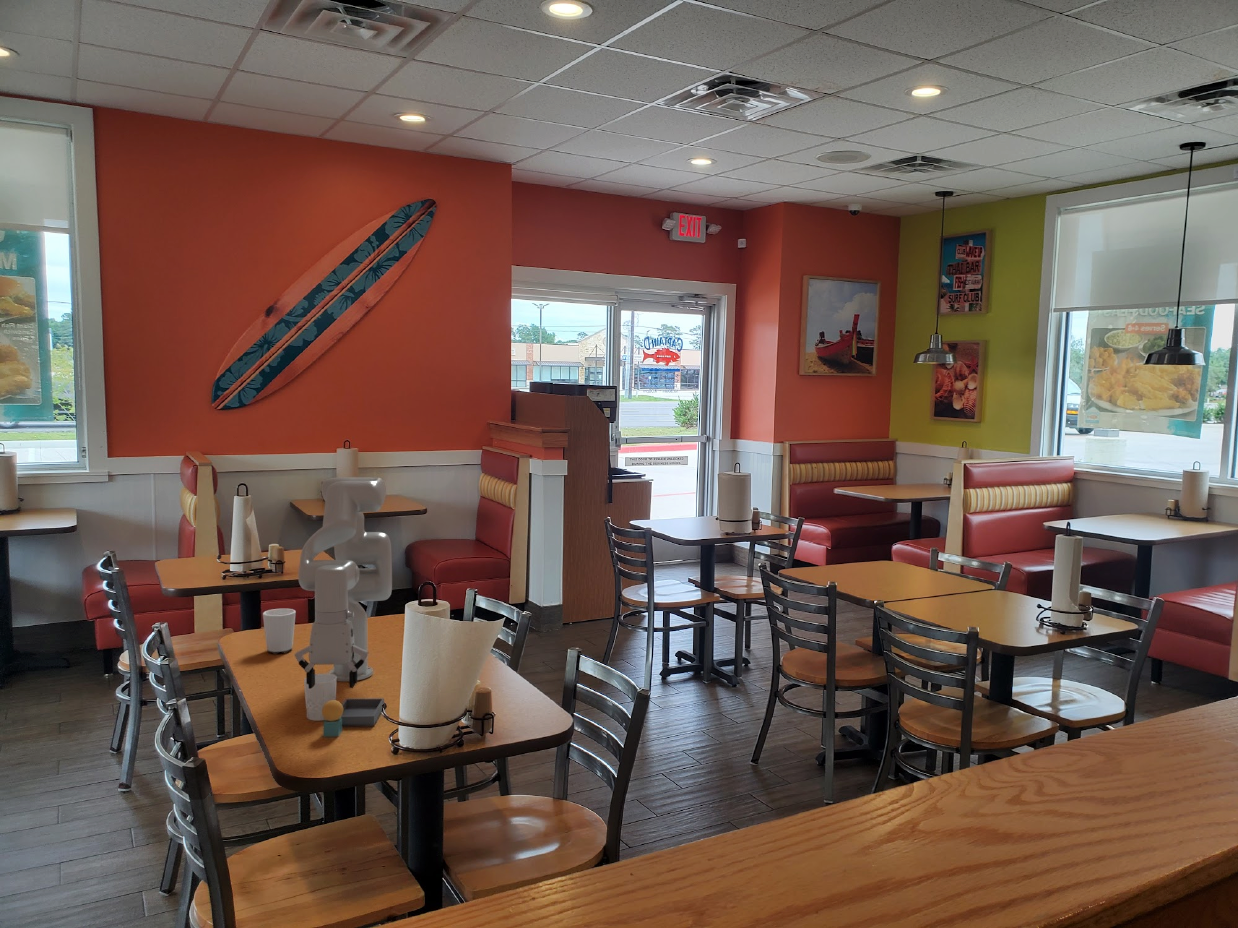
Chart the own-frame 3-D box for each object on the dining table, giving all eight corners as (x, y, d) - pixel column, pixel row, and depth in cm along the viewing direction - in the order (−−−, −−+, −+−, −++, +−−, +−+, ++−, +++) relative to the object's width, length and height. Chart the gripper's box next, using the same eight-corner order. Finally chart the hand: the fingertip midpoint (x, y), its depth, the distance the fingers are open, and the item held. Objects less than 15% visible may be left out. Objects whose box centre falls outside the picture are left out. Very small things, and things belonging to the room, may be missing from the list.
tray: (345, 708, 232) (345, 698, 232) (384, 707, 233) (384, 698, 233) (333, 726, 219) (333, 716, 219) (374, 726, 220) (374, 716, 220)
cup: (284, 644, 289) (284, 606, 288) (302, 650, 283) (302, 611, 282) (256, 651, 281) (256, 612, 280) (274, 657, 275) (274, 617, 274)
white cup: (326, 723, 222) (326, 684, 221) (298, 720, 223) (297, 681, 222) (342, 712, 229) (342, 674, 228) (315, 709, 231) (314, 672, 230)
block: (327, 730, 216) (327, 716, 216) (342, 730, 217) (342, 716, 216) (323, 736, 213) (323, 722, 212) (338, 736, 213) (338, 721, 213)
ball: (324, 716, 217) (324, 697, 216) (345, 716, 217) (345, 696, 217) (319, 724, 212) (319, 704, 211) (340, 724, 212) (340, 704, 212)
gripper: (371, 613, 217) (371, 681, 218) (299, 613, 215) (300, 682, 216) (364, 620, 209) (365, 691, 210) (290, 620, 208) (290, 691, 209)
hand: (332, 686), depth 213 cm, fingers open, 9 cm apart
